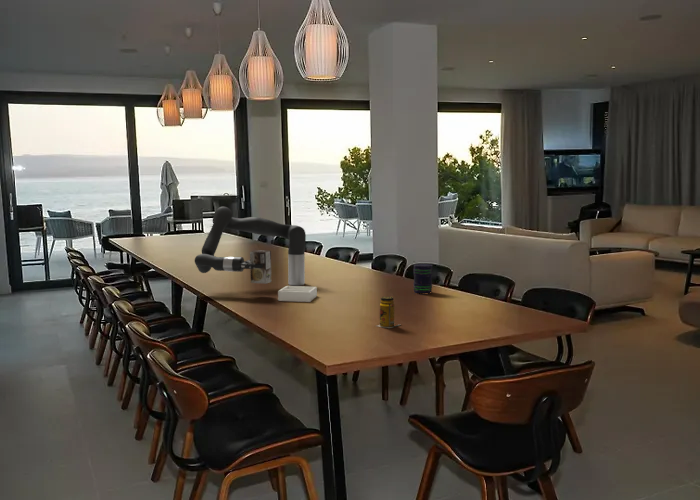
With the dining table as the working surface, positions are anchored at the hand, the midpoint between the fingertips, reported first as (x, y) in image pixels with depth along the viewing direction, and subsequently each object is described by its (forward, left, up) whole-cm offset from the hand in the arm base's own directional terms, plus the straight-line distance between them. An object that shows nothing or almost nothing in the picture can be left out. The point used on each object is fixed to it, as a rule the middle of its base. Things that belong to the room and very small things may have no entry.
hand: (264, 264), depth 333 cm
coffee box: (0, -2, -9) cm, 10 cm away
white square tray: (+2, +18, -16) cm, 24 cm away
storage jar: (-26, +79, -17) cm, 84 cm away
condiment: (+54, +69, -17) cm, 89 cm away
